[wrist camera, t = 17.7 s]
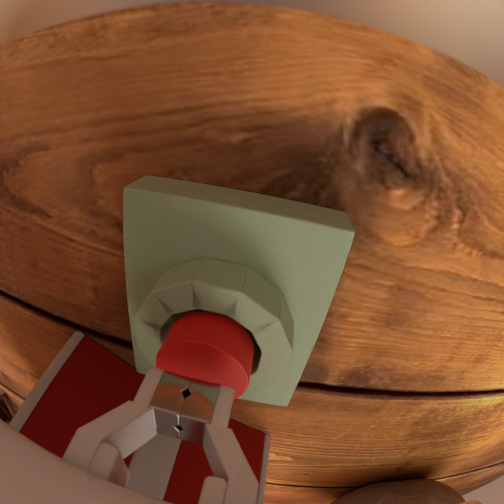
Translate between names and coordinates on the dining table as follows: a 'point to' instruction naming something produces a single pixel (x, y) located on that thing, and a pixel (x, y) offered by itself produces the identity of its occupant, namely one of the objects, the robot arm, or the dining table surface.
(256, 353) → the button box
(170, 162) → the dining table surface
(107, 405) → the white and red box
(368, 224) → the dining table surface
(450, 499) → the bowl
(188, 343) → the push button
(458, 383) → the dining table surface
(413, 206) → the dining table surface
